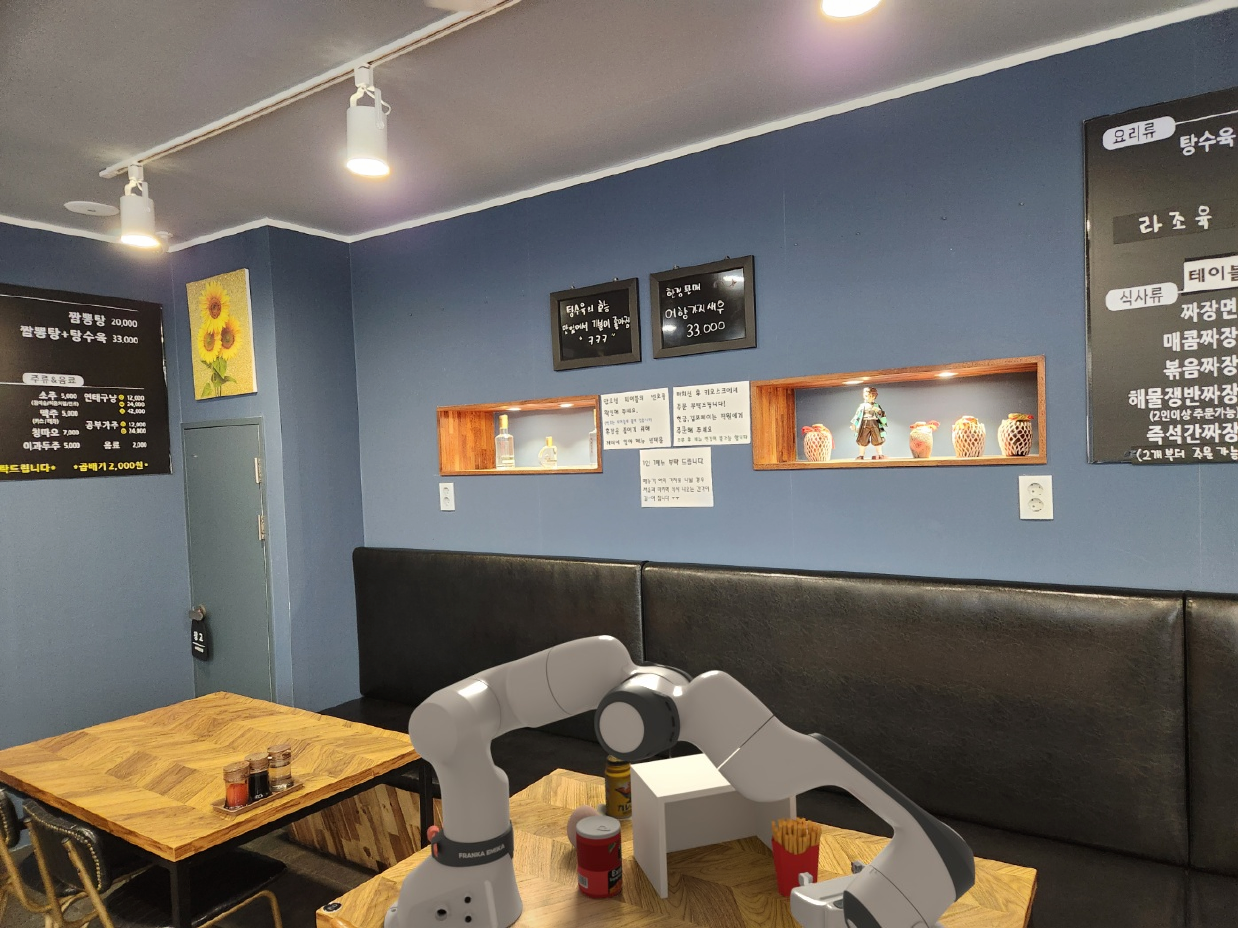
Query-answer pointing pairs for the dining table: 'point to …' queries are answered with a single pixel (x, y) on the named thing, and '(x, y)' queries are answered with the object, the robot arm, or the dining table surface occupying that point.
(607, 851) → the canned food
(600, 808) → the condiment
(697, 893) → the dining table surface
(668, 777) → the white step stool
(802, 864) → the french fries
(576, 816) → the egg
